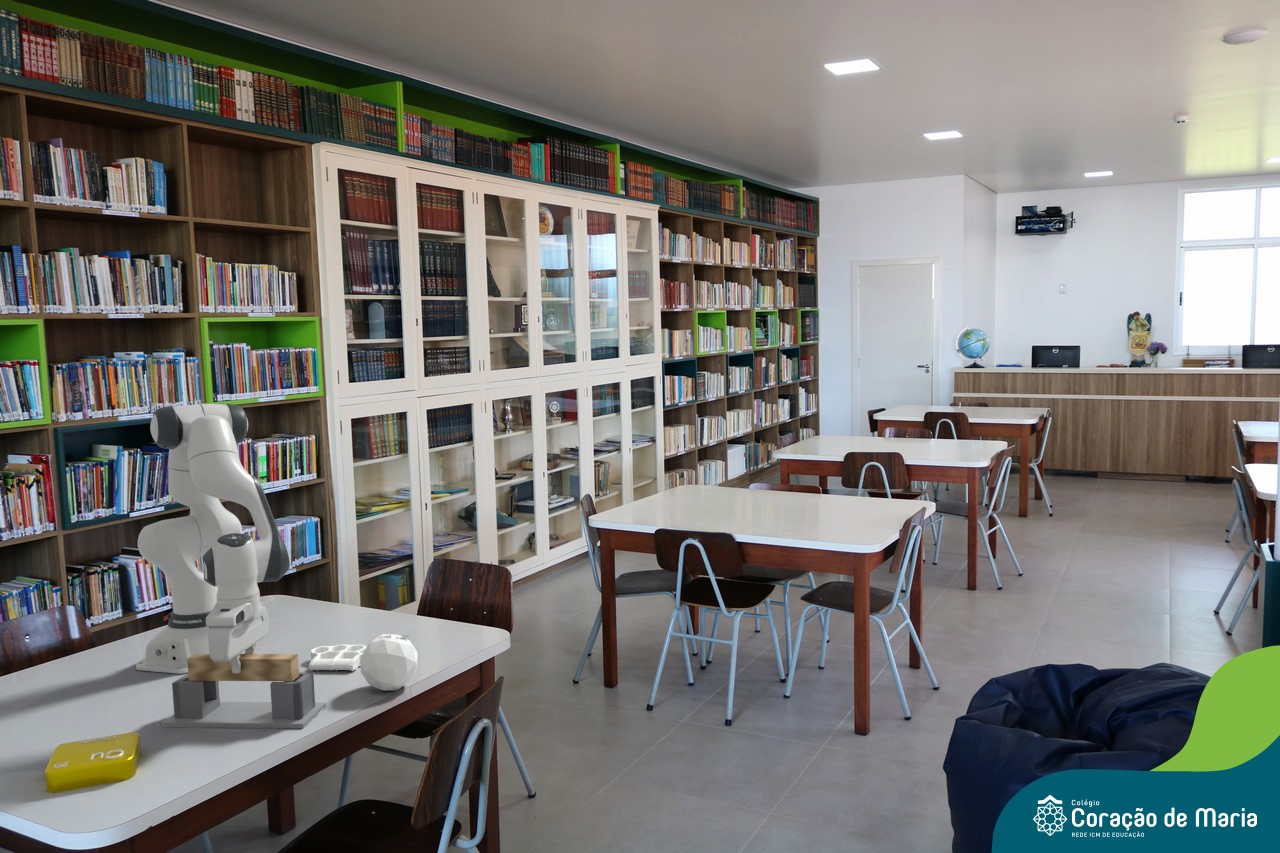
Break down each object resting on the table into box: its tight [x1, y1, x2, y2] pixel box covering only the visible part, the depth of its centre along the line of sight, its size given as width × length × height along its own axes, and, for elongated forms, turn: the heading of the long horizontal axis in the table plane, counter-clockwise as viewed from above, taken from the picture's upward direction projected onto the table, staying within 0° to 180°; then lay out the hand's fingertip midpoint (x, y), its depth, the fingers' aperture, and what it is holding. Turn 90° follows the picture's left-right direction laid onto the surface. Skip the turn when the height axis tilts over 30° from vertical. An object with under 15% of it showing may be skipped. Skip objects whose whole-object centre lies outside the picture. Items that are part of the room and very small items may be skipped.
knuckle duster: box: [308, 643, 368, 672], centre depth 249 cm, size 3×18×15 cm
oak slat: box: [187, 653, 300, 682], centre depth 213 cm, size 24×4×5 cm, turn 84°
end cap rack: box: [161, 671, 327, 729], centre depth 214 cm, size 32×12×9 cm, turn 85°
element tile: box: [44, 731, 141, 794], centre depth 188 cm, size 15×15×5 cm
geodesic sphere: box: [360, 633, 419, 692], centre depth 229 cm, size 14×14×14 cm
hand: (243, 668), depth 213 cm, fingers closed on oak slat, 3 cm apart
